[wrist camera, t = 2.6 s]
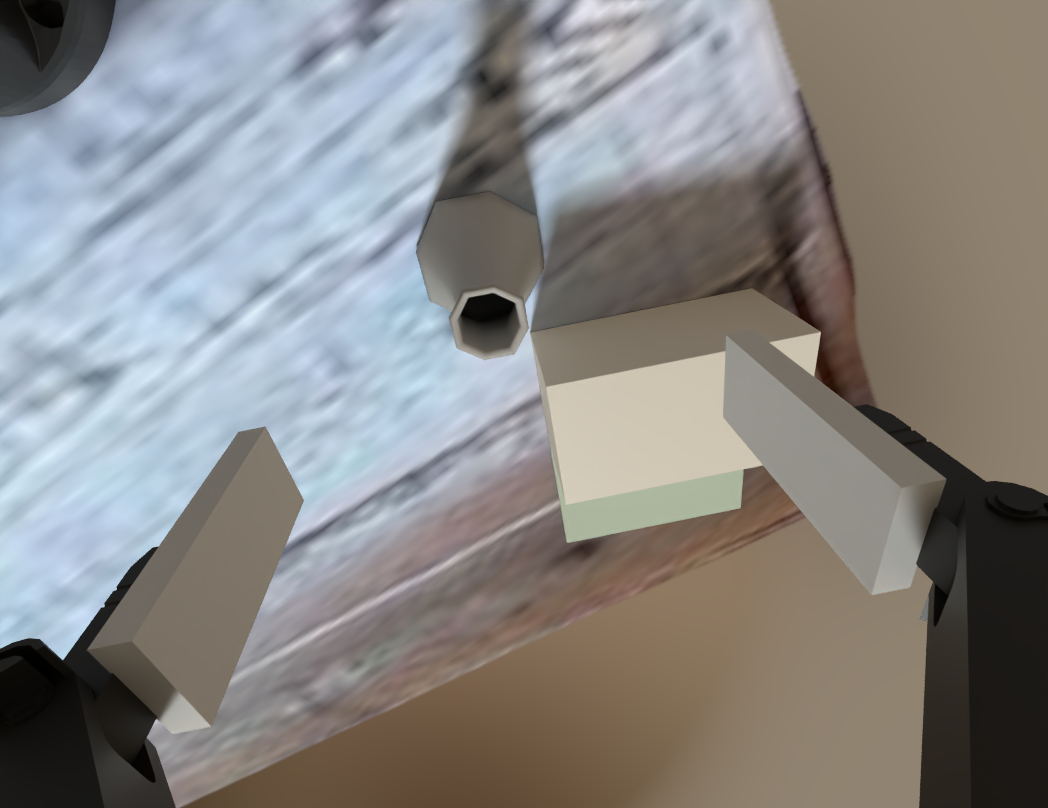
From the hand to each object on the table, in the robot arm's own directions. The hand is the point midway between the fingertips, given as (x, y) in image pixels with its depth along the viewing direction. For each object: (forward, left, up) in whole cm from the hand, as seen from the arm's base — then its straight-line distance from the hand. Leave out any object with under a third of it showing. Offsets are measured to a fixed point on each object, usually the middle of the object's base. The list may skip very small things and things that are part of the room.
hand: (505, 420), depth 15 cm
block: (+9, +9, -17) cm, 21 cm away
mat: (+18, +9, -17) cm, 26 cm away
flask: (0, 0, -17) cm, 17 cm away
